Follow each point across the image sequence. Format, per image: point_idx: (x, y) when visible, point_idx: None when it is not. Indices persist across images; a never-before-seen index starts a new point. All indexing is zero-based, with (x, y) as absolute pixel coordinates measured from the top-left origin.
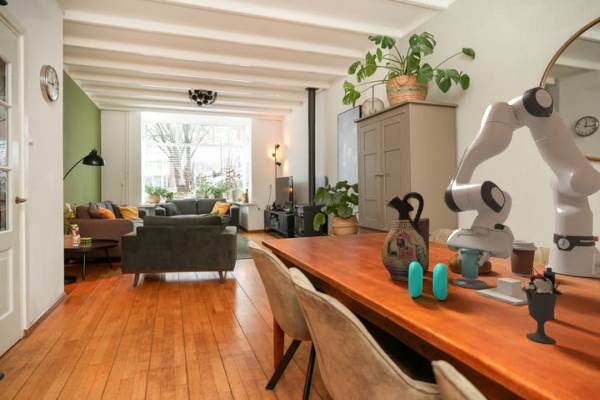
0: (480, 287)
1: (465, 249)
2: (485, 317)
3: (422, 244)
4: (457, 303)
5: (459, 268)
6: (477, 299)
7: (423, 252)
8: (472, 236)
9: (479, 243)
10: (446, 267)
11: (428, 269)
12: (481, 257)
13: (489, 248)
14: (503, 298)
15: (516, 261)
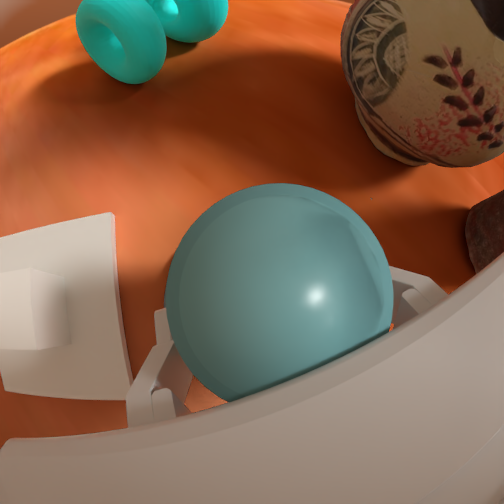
0: (165, 296)
1: (303, 232)
2: (8, 110)
3: (416, 17)
4: (81, 96)
5: None
6: (70, 170)
7: (383, 40)
8: (500, 479)
9: (295, 480)
10: (88, 7)
11: (476, 273)
12: (165, 352)
13: (105, 455)
14: (18, 236)
15: None
